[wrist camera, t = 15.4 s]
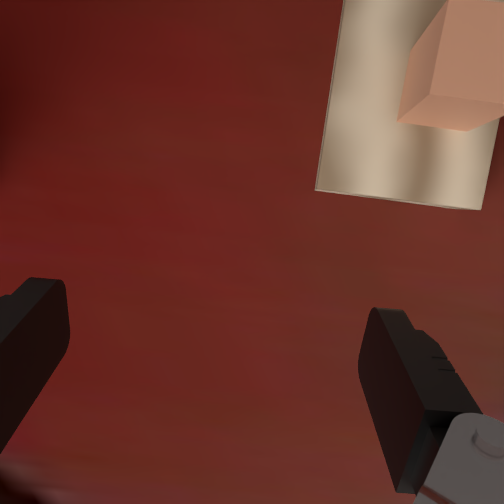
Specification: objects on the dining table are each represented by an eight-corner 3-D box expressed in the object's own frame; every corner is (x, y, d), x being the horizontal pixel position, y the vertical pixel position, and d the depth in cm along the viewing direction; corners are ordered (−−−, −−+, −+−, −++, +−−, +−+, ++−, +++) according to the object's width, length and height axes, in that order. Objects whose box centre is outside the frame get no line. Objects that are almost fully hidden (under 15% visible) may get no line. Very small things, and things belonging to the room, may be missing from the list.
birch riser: (314, 190, 37) (316, 188, 32) (344, -4, 35) (351, -38, 30) (456, 208, 36) (480, 210, 31) (495, 9, 34) (528, -24, 29)
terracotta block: (396, 121, 31) (429, 94, 23) (410, 50, 30) (449, -4, 22) (466, 131, 30) (525, 106, 22) (482, 59, 30) (548, 7, 22)
